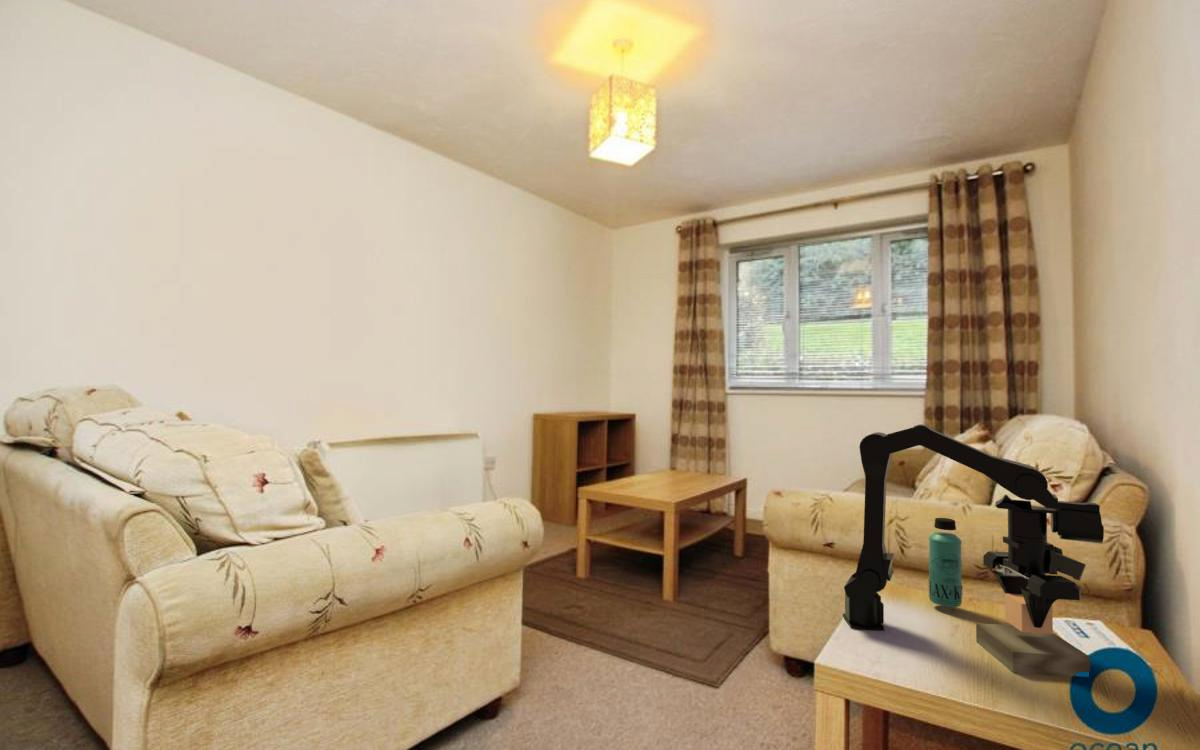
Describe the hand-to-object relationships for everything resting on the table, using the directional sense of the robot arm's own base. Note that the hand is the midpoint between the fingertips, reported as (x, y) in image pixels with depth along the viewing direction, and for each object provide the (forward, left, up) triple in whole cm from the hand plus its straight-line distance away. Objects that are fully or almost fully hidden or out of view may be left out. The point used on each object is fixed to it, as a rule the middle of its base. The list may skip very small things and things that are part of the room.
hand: (1028, 621), depth 102 cm
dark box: (0, 0, -7) cm, 7 cm away
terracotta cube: (0, 0, -1) cm, 1 cm away
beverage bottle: (-4, +23, -7) cm, 24 cm away
